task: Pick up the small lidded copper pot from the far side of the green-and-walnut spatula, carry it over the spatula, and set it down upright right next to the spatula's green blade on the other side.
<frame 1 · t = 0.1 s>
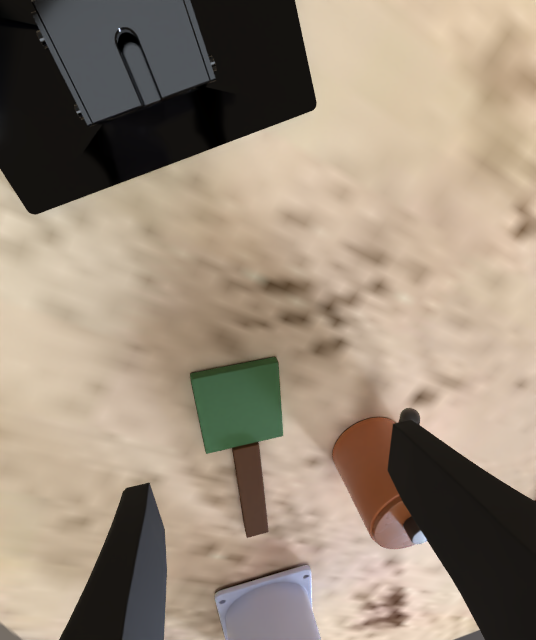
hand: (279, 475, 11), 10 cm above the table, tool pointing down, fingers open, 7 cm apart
pot: (366, 445, 27), on the table
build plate: (137, 63, 14), on the table
spatula: (245, 453, 25), on the table
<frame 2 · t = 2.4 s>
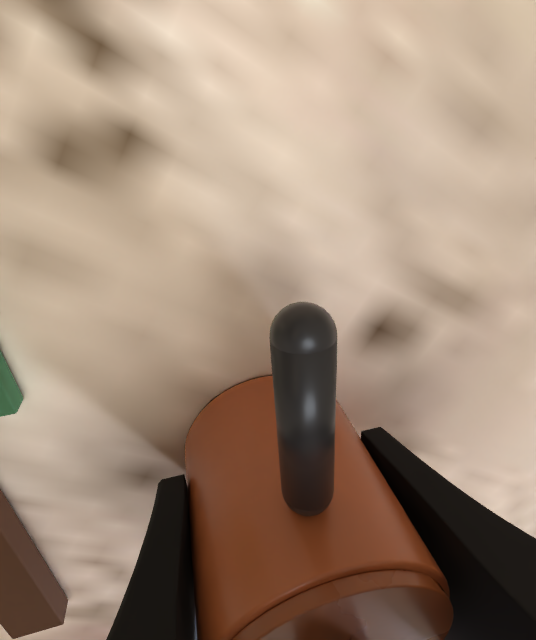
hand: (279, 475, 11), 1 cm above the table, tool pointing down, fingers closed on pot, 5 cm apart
pot: (267, 440, 12), on the table, touching gripper
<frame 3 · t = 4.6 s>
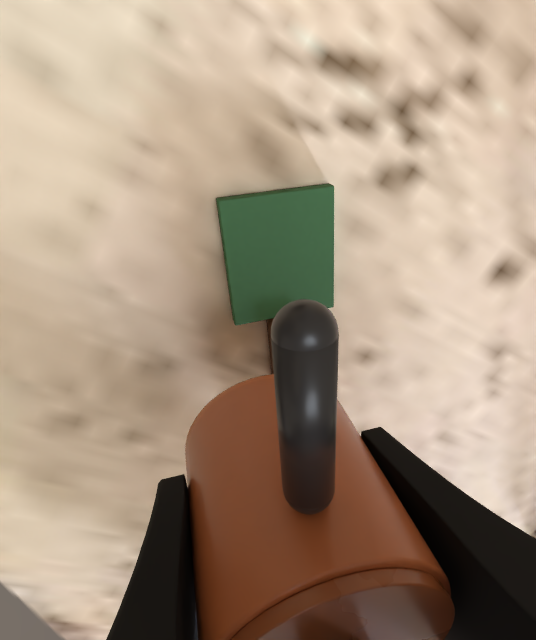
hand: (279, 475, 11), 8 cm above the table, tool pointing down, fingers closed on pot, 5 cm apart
pot: (267, 439, 12), point 7 cm above the table, touching gripper
spatula: (283, 335, 19), on the table
when the fingers open (1 cm above the table, at t = 7.3 s): pot stays where it is, on the table.
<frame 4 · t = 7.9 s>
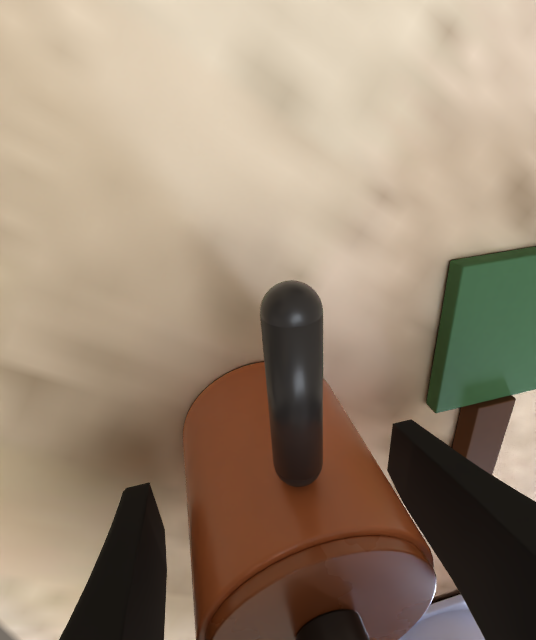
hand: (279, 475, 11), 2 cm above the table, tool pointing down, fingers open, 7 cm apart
pot: (262, 425, 13), on the table
spatula: (475, 417, 15), on the table
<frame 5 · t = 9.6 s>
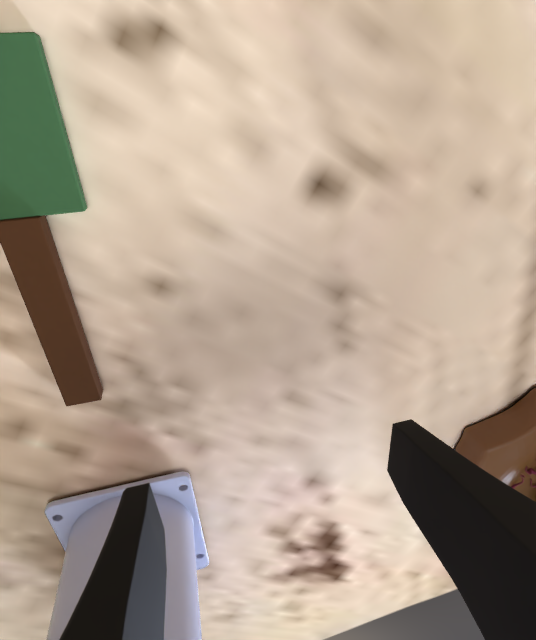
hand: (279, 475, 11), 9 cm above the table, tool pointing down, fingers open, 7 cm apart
spatula: (34, 249, 16), on the table
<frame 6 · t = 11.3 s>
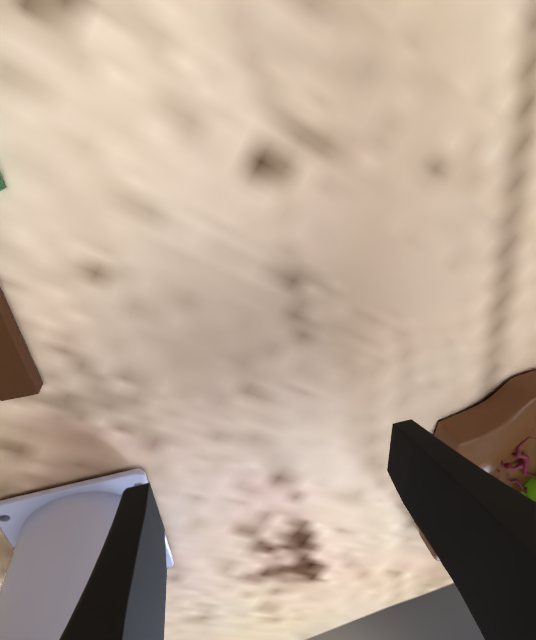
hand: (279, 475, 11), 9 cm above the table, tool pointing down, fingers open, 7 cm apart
plant: (519, 456, 32), on the table
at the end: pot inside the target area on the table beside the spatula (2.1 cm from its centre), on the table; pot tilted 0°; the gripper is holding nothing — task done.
